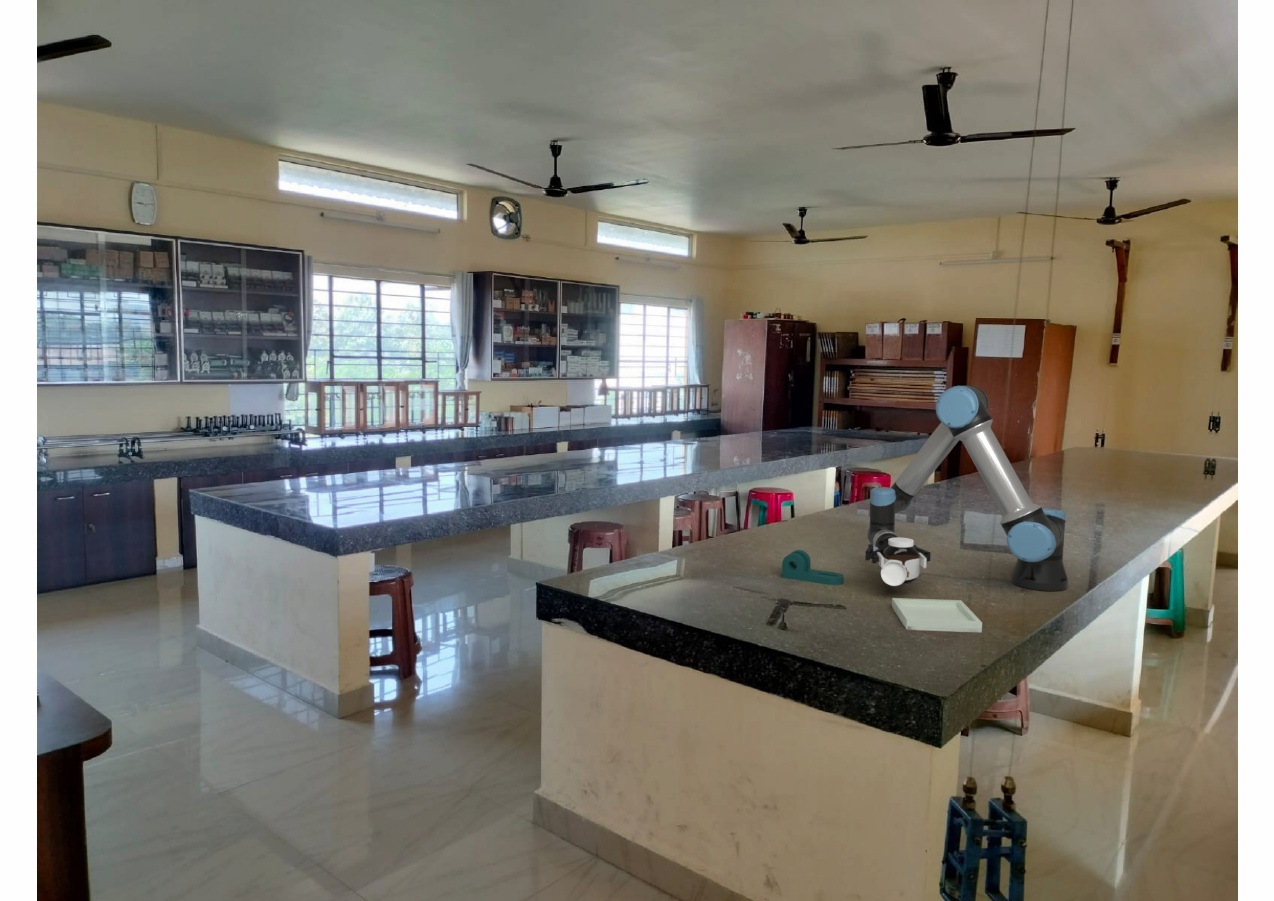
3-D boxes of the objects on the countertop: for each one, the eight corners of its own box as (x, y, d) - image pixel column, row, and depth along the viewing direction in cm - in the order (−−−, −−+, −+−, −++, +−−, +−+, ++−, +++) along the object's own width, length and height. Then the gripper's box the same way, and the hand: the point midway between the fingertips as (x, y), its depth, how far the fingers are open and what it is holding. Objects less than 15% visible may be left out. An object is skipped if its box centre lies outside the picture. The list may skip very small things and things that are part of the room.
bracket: (781, 578, 244) (782, 553, 243) (789, 573, 250) (789, 548, 249) (839, 586, 235) (840, 560, 234) (846, 581, 241) (846, 555, 240)
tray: (960, 609, 213) (961, 600, 213) (981, 632, 196) (982, 622, 195) (891, 606, 216) (892, 597, 215) (906, 629, 198) (906, 619, 197)
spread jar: (912, 576, 229) (913, 536, 228) (927, 587, 218) (928, 545, 217) (871, 576, 229) (872, 537, 228) (884, 588, 218) (885, 546, 216)
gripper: (927, 557, 240) (946, 576, 218) (848, 556, 242) (860, 575, 220) (927, 532, 239) (947, 550, 217) (849, 532, 241) (861, 549, 220)
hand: (903, 562), depth 219 cm, fingers closed on spread jar, 11 cm apart
